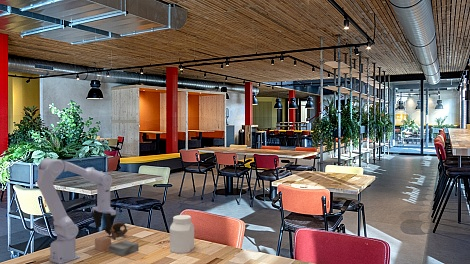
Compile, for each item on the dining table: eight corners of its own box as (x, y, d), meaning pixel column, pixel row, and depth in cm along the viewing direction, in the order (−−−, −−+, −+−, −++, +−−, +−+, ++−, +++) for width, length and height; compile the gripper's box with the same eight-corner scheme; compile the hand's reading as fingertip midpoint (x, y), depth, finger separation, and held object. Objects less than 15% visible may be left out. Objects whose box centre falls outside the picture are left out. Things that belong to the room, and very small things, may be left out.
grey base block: (122, 257, 161) (122, 249, 161) (109, 253, 166) (109, 245, 166) (138, 251, 169) (138, 243, 168) (125, 247, 174) (125, 240, 173)
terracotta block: (101, 251, 167) (101, 240, 167) (95, 249, 170) (95, 238, 170) (111, 248, 172) (111, 237, 171) (104, 246, 174) (104, 236, 174)
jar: (187, 254, 164) (187, 220, 163) (167, 252, 166) (167, 219, 166) (196, 246, 175) (196, 214, 175) (177, 244, 177) (177, 213, 177)
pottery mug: (128, 234, 195) (130, 223, 191) (122, 247, 187) (124, 235, 183) (106, 228, 194) (107, 217, 191) (99, 241, 186) (100, 229, 182)
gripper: (121, 199, 170) (121, 228, 171) (101, 196, 178) (101, 224, 178) (108, 202, 164) (108, 232, 165) (88, 198, 172) (88, 227, 173)
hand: (103, 228), depth 171 cm, fingers open, 7 cm apart
